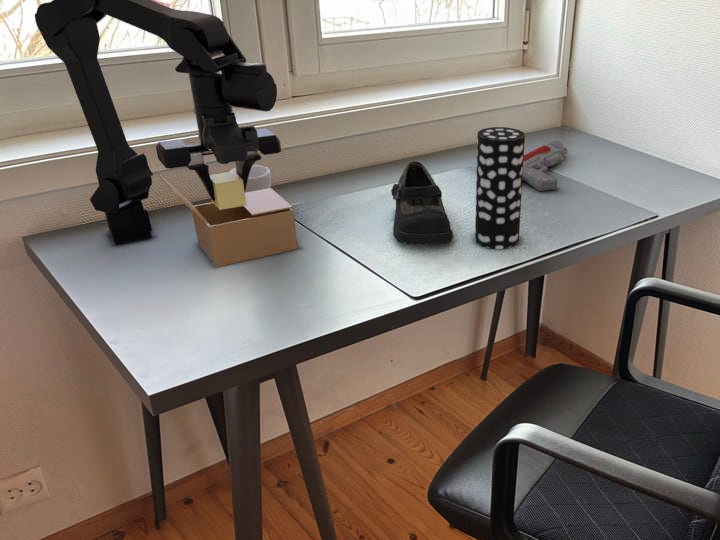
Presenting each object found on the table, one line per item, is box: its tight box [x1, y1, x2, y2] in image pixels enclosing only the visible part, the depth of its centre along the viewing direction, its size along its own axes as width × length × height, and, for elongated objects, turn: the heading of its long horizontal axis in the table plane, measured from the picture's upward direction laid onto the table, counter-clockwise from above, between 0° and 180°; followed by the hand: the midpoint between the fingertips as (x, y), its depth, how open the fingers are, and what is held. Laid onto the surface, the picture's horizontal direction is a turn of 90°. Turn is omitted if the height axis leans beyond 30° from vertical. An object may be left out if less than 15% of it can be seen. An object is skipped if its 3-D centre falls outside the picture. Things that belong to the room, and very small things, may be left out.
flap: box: [157, 173, 208, 224], centre depth 123 cm, size 7×11×1 cm
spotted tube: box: [474, 126, 526, 250], centre depth 133 cm, size 8×8×20 cm
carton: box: [191, 187, 299, 268], centre depth 131 cm, size 15×11×8 cm
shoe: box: [391, 161, 454, 245], centre depth 140 cm, size 11×24×10 cm, turn 11°
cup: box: [228, 164, 272, 193], centre depth 145 cm, size 11×8×8 cm
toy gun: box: [522, 140, 569, 192], centre depth 171 cm, size 4×27×15 cm
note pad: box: [209, 171, 246, 210], centre depth 124 cm, size 5×5×5 cm
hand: (227, 197), depth 125 cm, fingers closed on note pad, 4 cm apart
